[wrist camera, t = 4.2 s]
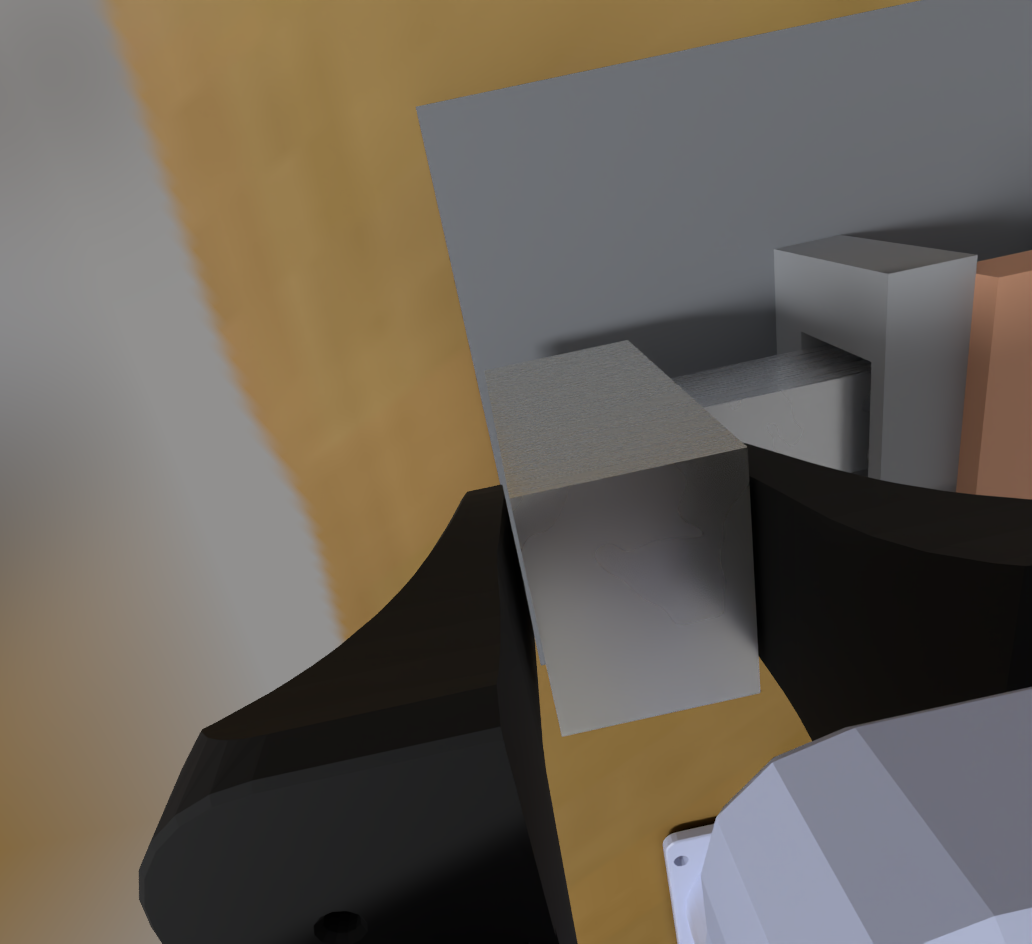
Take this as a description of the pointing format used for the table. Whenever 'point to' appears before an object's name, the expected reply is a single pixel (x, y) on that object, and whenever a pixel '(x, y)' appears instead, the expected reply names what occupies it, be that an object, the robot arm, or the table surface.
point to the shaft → (657, 513)
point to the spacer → (999, 382)
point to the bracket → (754, 209)
